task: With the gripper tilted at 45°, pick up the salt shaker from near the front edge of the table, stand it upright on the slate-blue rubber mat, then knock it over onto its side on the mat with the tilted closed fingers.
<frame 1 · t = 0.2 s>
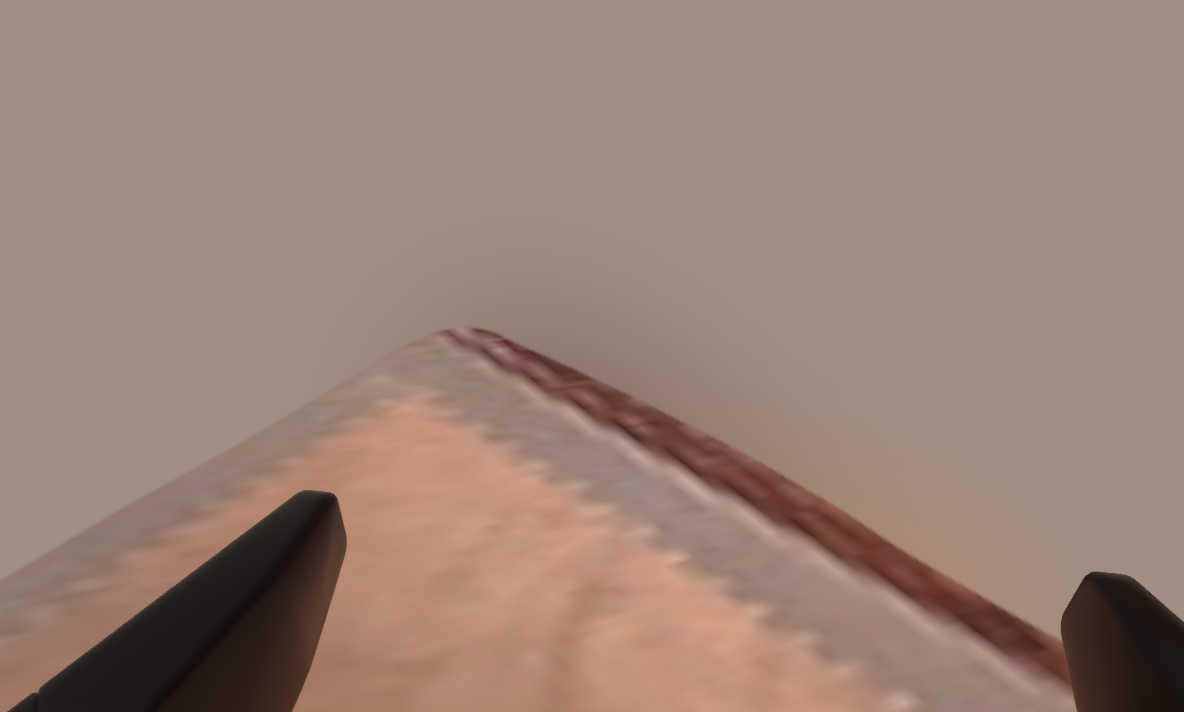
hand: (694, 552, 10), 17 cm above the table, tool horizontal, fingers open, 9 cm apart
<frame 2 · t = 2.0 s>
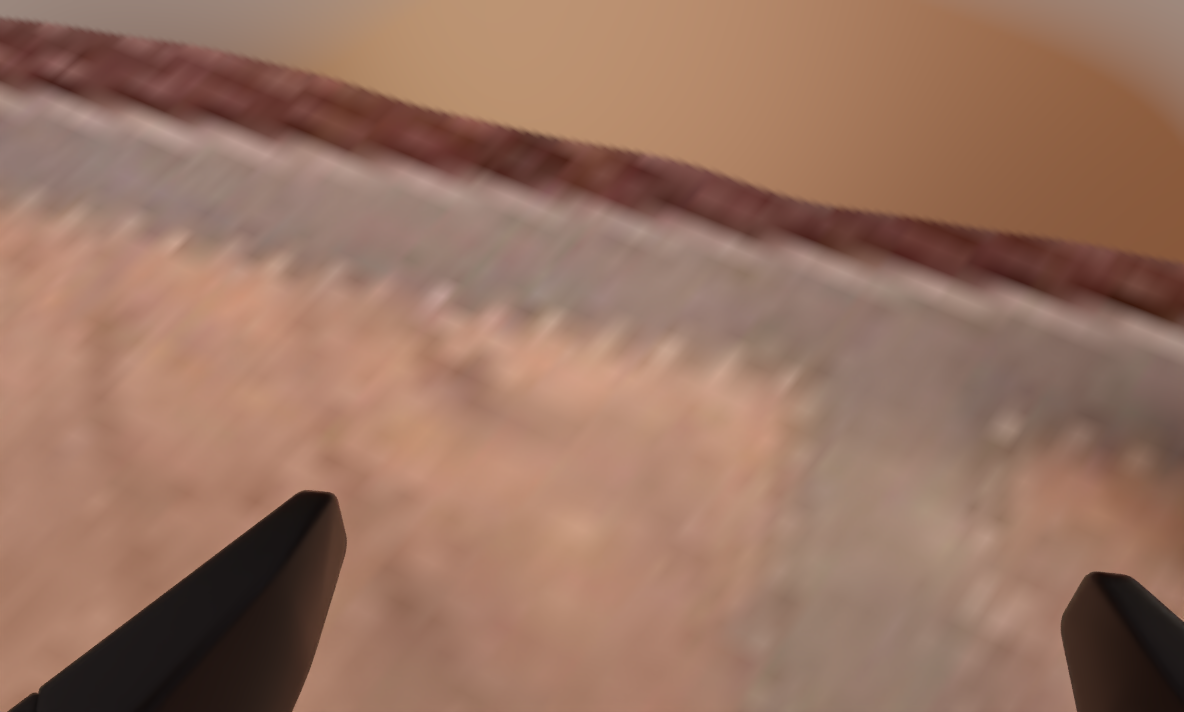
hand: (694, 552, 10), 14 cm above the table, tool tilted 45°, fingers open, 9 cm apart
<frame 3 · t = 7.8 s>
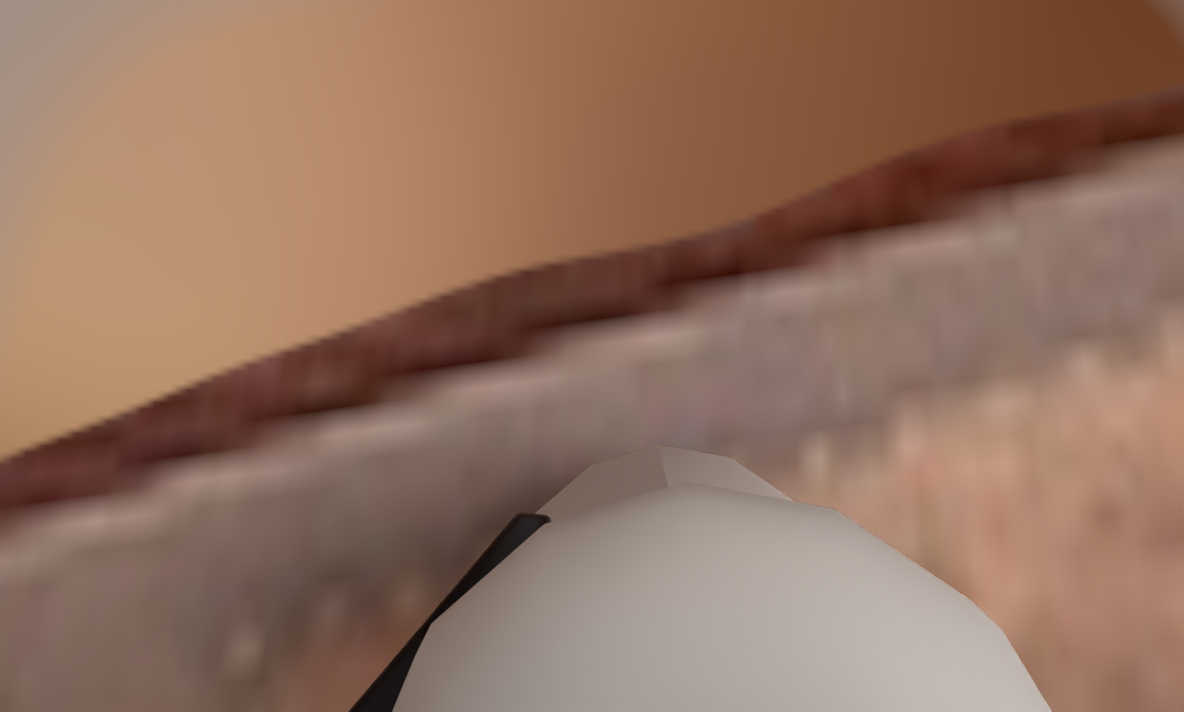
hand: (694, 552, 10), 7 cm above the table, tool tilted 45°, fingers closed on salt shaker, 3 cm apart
salt shaker: (667, 593, 17), on the table, touching gripper
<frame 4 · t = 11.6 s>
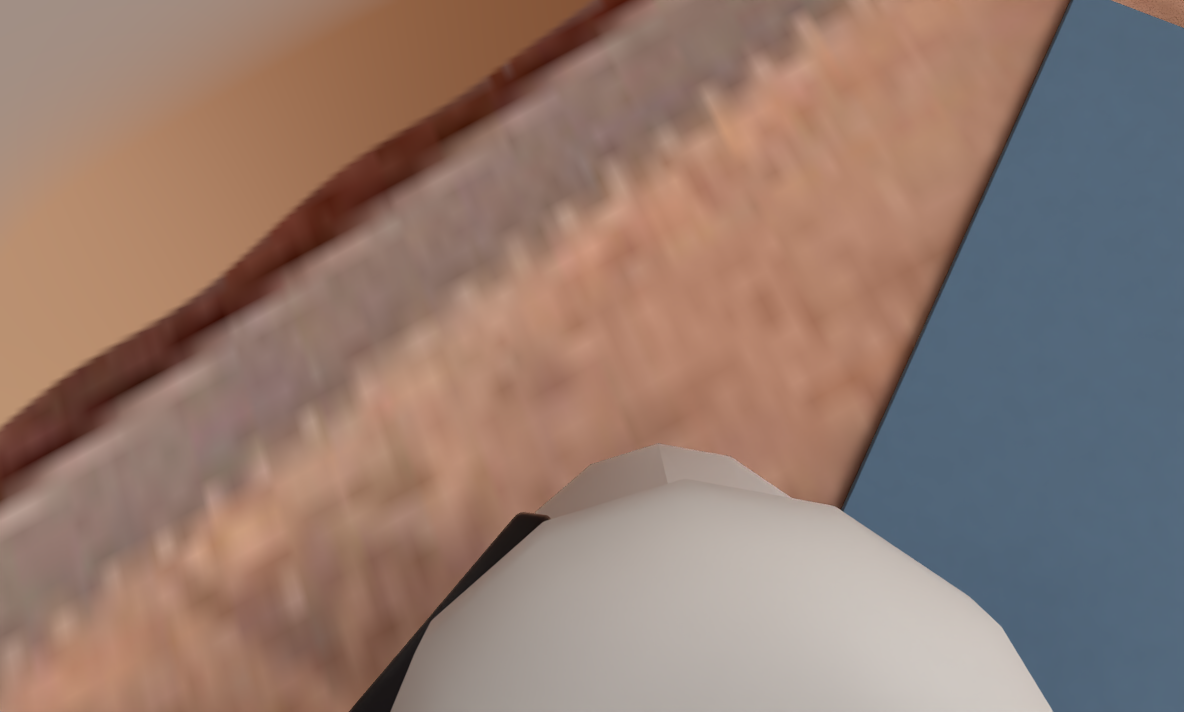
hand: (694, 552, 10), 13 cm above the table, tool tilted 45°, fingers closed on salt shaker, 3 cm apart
salt shaker: (667, 592, 17), point 6 cm above the table, touching gripper
when the fingers open (7 cm above the table, at t = 15.4 s): salt shaker stays where it is, resting on slate mat.
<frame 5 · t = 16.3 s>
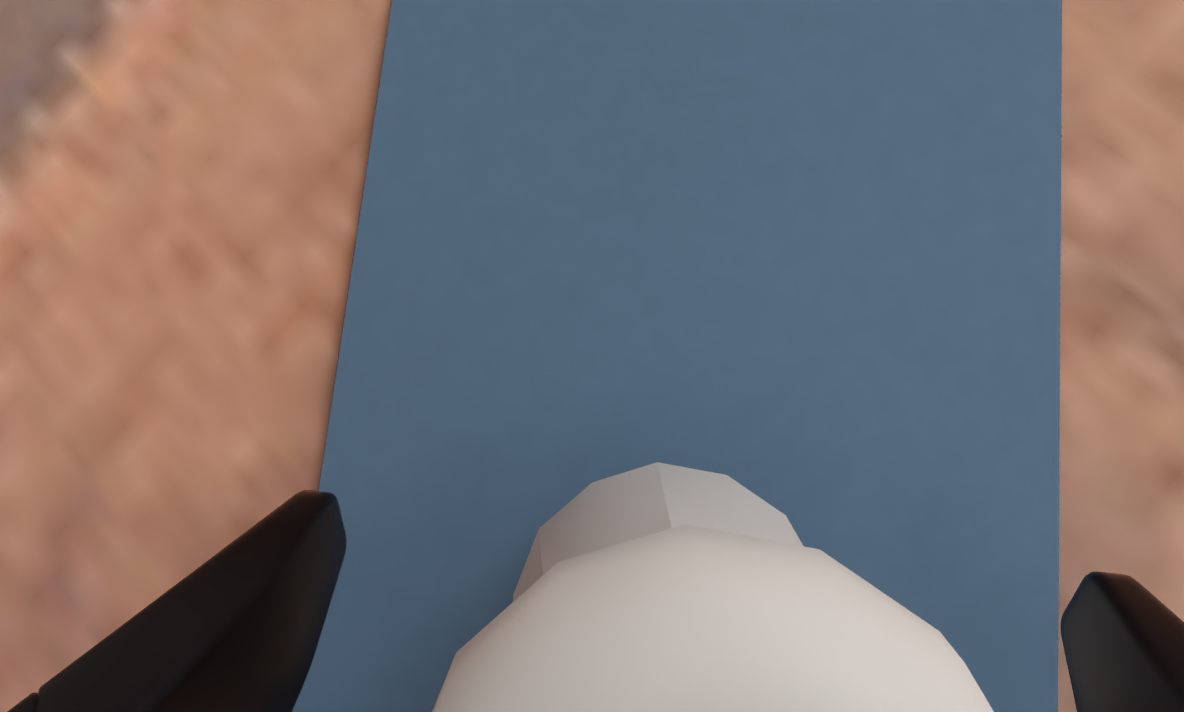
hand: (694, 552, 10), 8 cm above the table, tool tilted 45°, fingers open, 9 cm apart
slate mat: (693, 279, 18), on the table
salt shaker: (665, 603, 17), resting on slate mat
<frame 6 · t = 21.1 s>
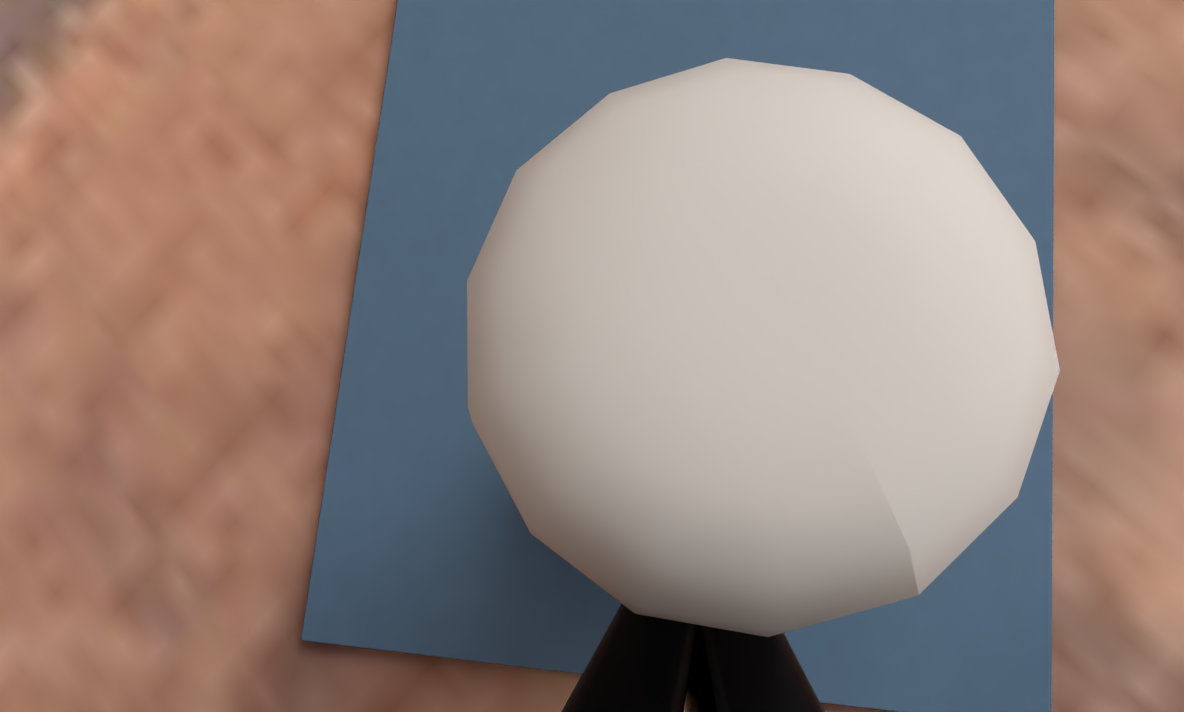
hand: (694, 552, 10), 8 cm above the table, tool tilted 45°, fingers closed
slate mat: (702, 159, 19), on the table
salt shaker: (677, 461, 18), resting on slate mat, touching gripper
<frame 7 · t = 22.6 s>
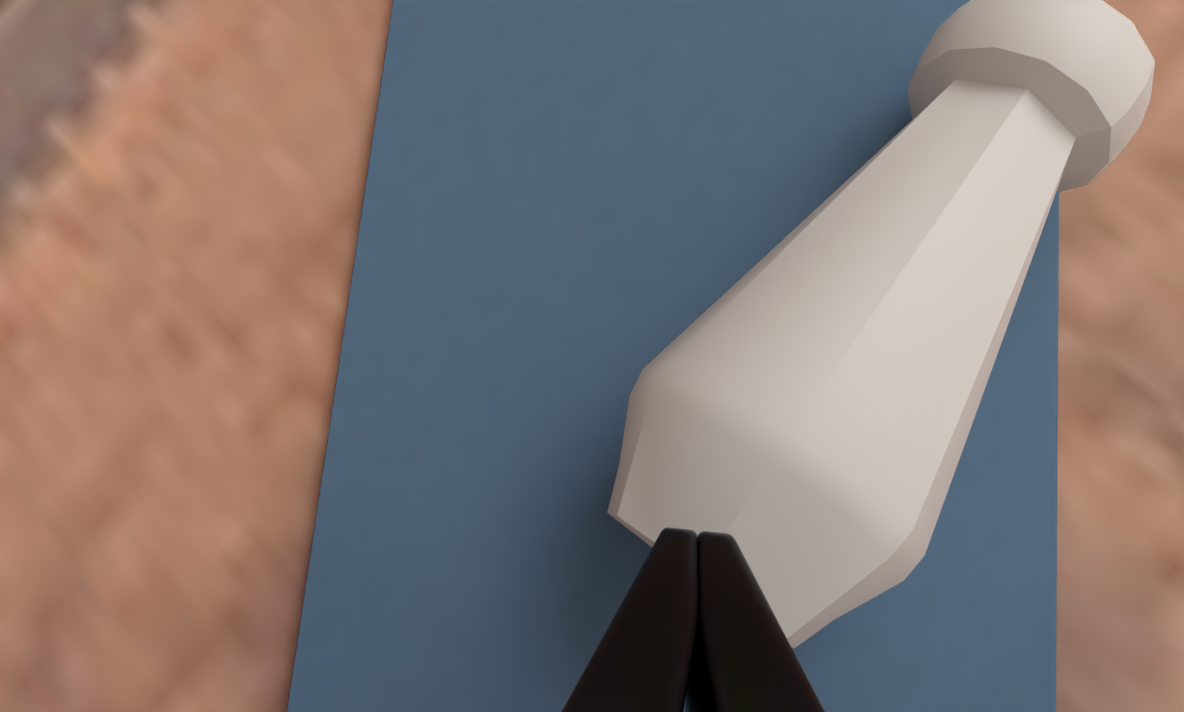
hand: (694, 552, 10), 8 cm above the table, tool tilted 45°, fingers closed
slate mat: (686, 363, 18), on the table
salt shaker: (690, 586, 14), point 3 cm above the table, touching slate mat
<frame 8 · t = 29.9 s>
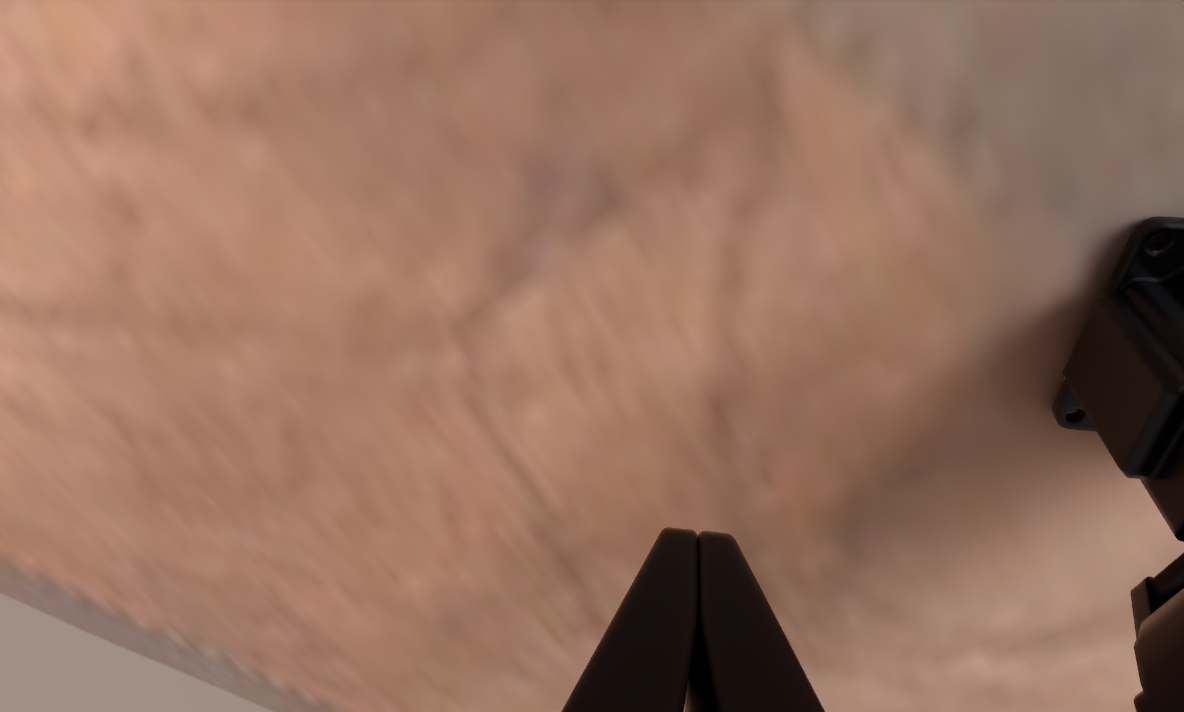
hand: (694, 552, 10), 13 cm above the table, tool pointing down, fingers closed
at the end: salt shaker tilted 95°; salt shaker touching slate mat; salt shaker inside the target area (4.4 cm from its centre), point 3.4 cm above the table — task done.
